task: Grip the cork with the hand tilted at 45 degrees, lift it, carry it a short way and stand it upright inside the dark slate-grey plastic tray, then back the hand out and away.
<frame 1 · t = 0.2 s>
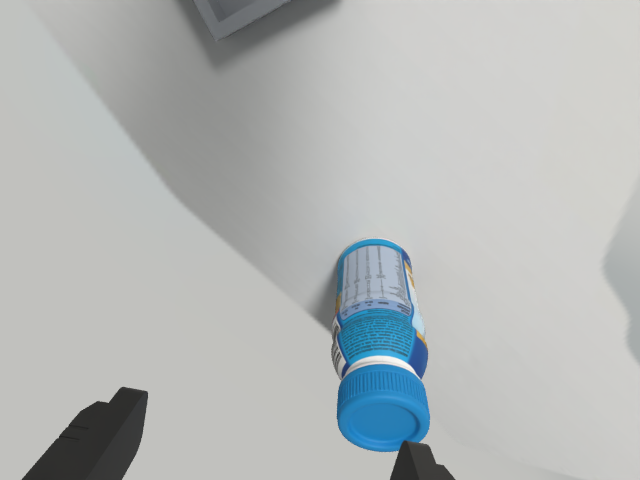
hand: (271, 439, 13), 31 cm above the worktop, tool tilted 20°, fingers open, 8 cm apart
beverage bottle: (373, 264, 46), on the worktop
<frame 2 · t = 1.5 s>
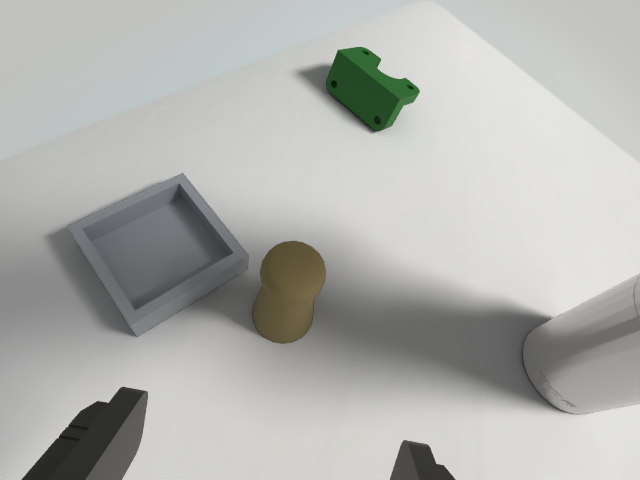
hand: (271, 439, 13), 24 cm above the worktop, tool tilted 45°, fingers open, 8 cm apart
clamp: (366, 104, 59), on the worktop
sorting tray: (164, 255, 41), on the worktop
cork: (282, 314, 40), on the worktop
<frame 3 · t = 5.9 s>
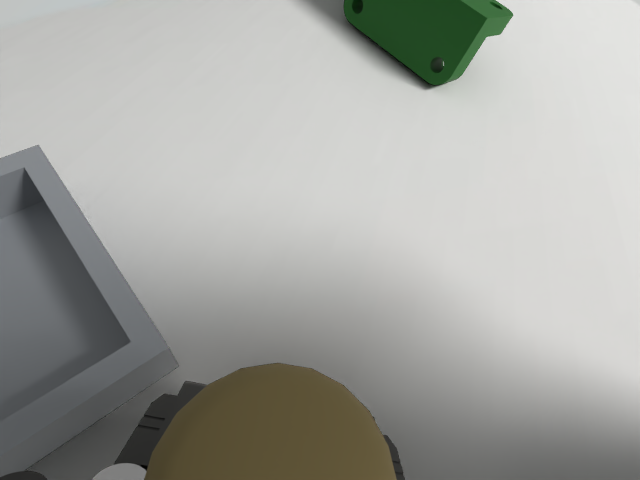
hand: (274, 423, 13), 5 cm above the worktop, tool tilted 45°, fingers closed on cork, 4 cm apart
clamp: (412, 45, 34), on the worktop
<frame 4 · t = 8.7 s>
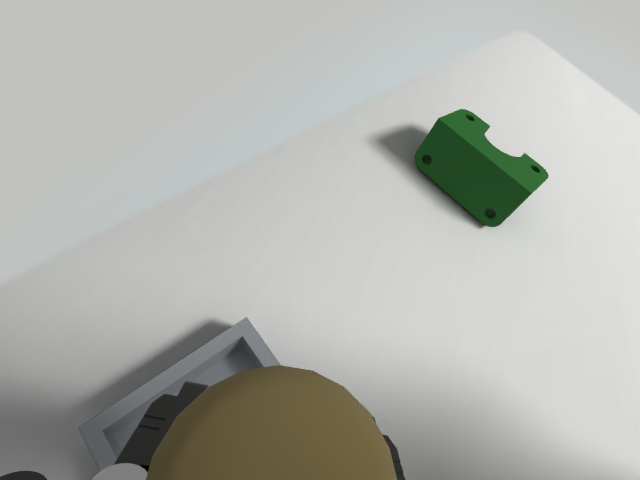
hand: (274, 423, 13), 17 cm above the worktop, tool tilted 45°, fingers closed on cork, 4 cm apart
clamp: (466, 183, 44), on the worktop
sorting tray: (221, 449, 28), on the worktop
when the fingers open (7 cm above the worktop, at t = 11.4 s): cork drops 1 cm, resting on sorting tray.
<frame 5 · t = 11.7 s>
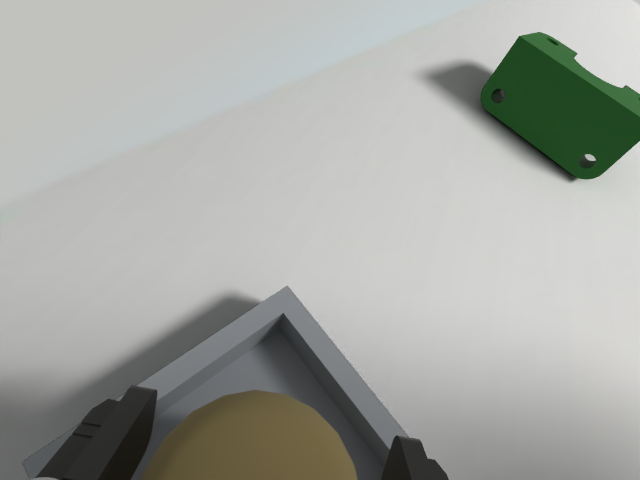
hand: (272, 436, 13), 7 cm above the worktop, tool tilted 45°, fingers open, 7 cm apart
clamp: (543, 129, 35), on the worktop
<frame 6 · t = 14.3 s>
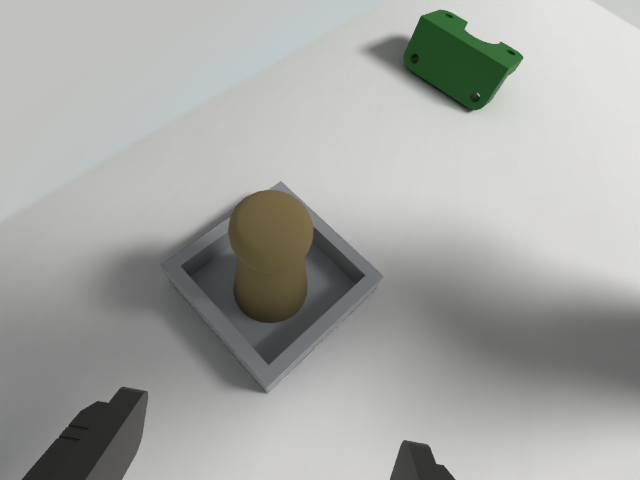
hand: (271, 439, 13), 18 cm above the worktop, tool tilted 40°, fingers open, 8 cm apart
clamp: (451, 79, 49), on the worktop
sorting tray: (274, 285, 34), on the worktop
cork: (270, 288, 33), resting on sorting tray
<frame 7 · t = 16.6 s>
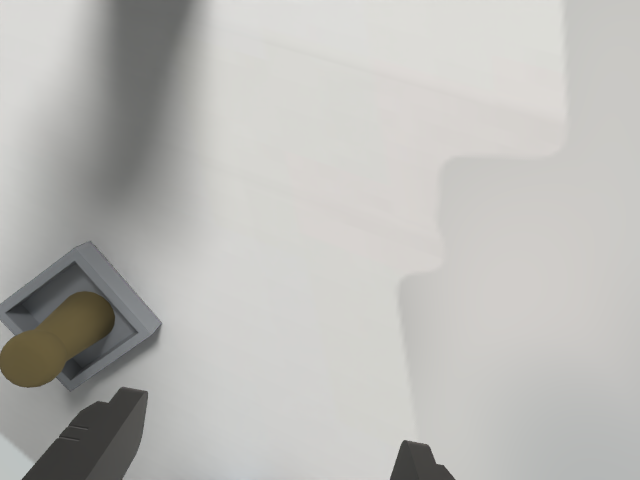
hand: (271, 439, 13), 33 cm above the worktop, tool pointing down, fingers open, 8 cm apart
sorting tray: (87, 311, 47), on the worktop
cork: (89, 315, 46), resting on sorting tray
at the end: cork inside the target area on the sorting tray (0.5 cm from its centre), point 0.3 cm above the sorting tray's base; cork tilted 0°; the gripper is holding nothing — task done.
